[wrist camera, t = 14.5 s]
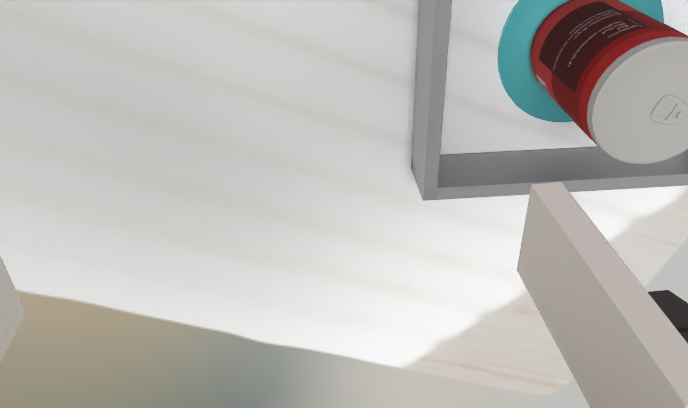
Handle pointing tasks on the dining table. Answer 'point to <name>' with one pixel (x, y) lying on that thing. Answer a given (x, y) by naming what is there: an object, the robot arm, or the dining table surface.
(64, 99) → the dining table surface
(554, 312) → the robot arm
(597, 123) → the canned food
